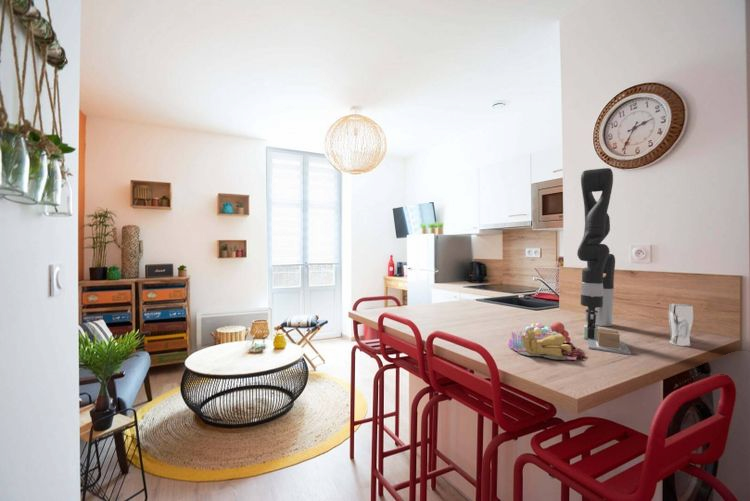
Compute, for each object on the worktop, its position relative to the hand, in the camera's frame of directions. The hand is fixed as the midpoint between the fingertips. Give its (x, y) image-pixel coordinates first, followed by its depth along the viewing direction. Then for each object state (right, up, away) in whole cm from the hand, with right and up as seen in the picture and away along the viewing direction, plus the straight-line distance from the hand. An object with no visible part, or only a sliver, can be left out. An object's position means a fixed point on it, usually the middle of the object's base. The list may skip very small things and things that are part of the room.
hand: (590, 336), depth 136 cm
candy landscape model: (-26, -1, -16) cm, 31 cm away
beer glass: (+30, -1, -6) cm, 31 cm away
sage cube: (0, 0, 0) cm, 0 cm away
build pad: (-1, -1, -12) cm, 12 cm away
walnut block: (-1, 0, -12) cm, 12 cm away
